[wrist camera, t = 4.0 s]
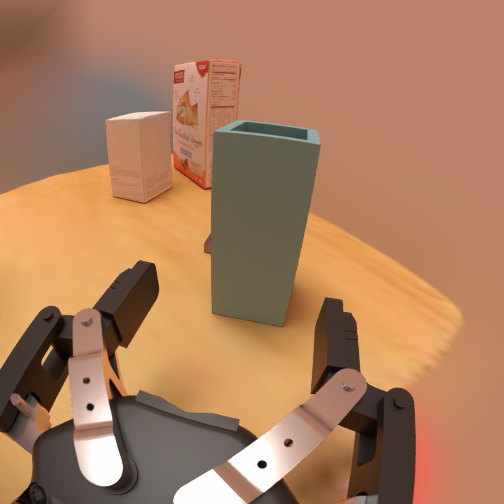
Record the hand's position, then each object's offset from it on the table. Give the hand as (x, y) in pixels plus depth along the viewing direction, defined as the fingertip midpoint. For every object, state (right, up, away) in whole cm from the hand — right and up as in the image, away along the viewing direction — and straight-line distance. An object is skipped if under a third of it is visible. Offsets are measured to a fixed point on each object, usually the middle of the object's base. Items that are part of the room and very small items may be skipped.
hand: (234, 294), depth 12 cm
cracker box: (-9, +16, +36) cm, 40 cm away
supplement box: (-17, +11, +29) cm, 35 cm away
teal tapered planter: (+1, -2, +12) cm, 12 cm away
